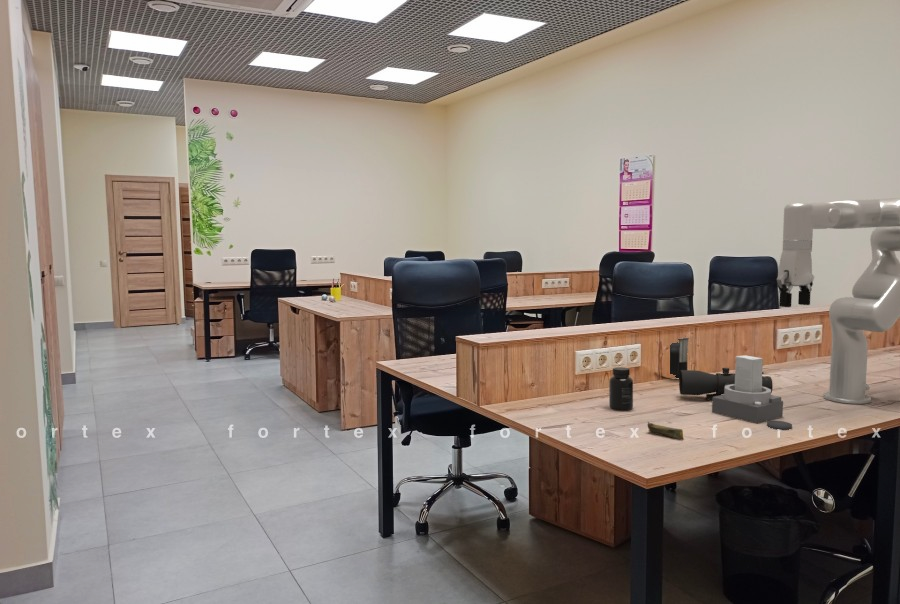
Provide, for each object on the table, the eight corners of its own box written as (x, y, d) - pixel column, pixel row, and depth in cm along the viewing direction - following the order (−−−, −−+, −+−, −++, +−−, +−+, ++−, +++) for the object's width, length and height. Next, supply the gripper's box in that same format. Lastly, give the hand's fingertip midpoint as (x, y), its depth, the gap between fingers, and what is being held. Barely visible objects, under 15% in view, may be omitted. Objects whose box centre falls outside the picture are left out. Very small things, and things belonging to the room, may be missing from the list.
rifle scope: (774, 405, 195) (775, 372, 194) (682, 402, 201) (683, 370, 200) (765, 397, 206) (766, 366, 205) (678, 394, 211) (678, 363, 210)
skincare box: (762, 400, 184) (763, 358, 183) (751, 401, 182) (753, 359, 181) (743, 395, 190) (745, 354, 188) (733, 397, 188) (734, 356, 186)
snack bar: (683, 440, 164) (684, 428, 163) (681, 441, 163) (681, 429, 162) (648, 432, 170) (649, 421, 170) (646, 433, 169) (646, 422, 169)
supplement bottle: (633, 406, 196) (634, 367, 195) (632, 412, 190) (632, 371, 189) (610, 404, 198) (610, 365, 197) (607, 410, 192) (608, 370, 191)
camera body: (737, 406, 195) (737, 381, 194) (782, 416, 183) (783, 390, 183) (712, 412, 189) (712, 386, 188) (757, 423, 177) (758, 396, 176)
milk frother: (658, 374, 242) (658, 335, 240) (701, 374, 241) (702, 334, 240) (669, 383, 228) (670, 340, 226) (715, 383, 227) (716, 340, 225)
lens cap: (774, 423, 178) (775, 419, 178) (796, 428, 173) (796, 424, 173) (762, 427, 175) (762, 422, 175) (783, 432, 170) (783, 428, 170)
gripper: (800, 246, 196) (798, 303, 198) (767, 247, 187) (765, 306, 188) (826, 246, 190) (823, 305, 191) (793, 247, 180) (790, 308, 182)
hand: (794, 305), depth 190 cm, fingers open, 9 cm apart
